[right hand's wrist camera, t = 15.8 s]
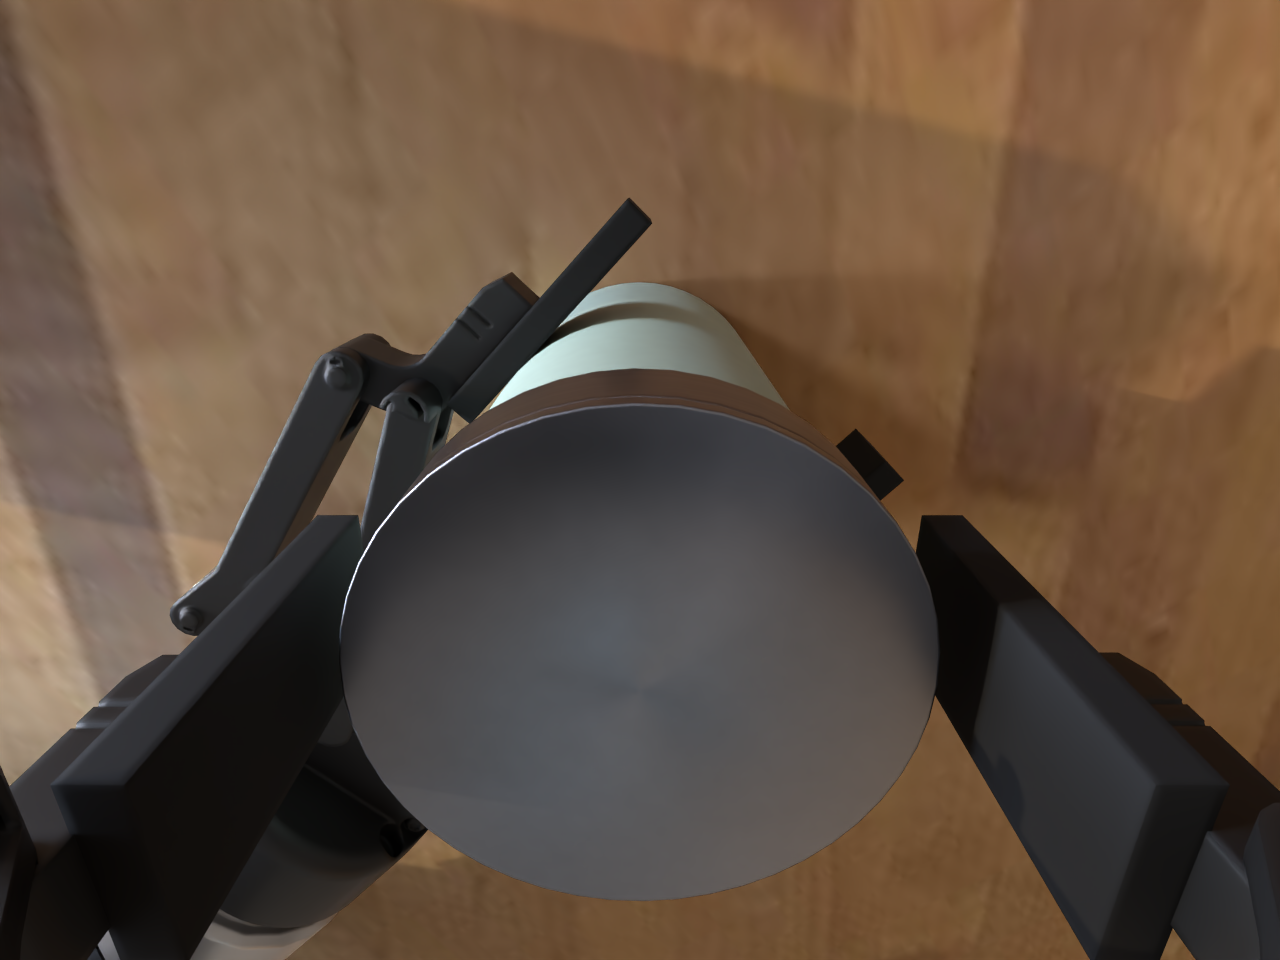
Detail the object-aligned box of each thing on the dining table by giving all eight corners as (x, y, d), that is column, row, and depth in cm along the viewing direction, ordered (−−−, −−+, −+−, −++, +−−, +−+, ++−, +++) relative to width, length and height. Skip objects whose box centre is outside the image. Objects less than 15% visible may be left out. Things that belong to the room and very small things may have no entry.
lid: (274, 582, 12) (209, 651, 10) (689, 242, 10) (700, 252, 8) (605, 874, 15) (600, 972, 13) (989, 651, 13) (1047, 729, 11)
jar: (705, 241, 23) (806, 317, 9) (787, 459, 26) (958, 768, 12) (481, 340, 25) (271, 539, 11) (582, 538, 27) (523, 904, 13)
